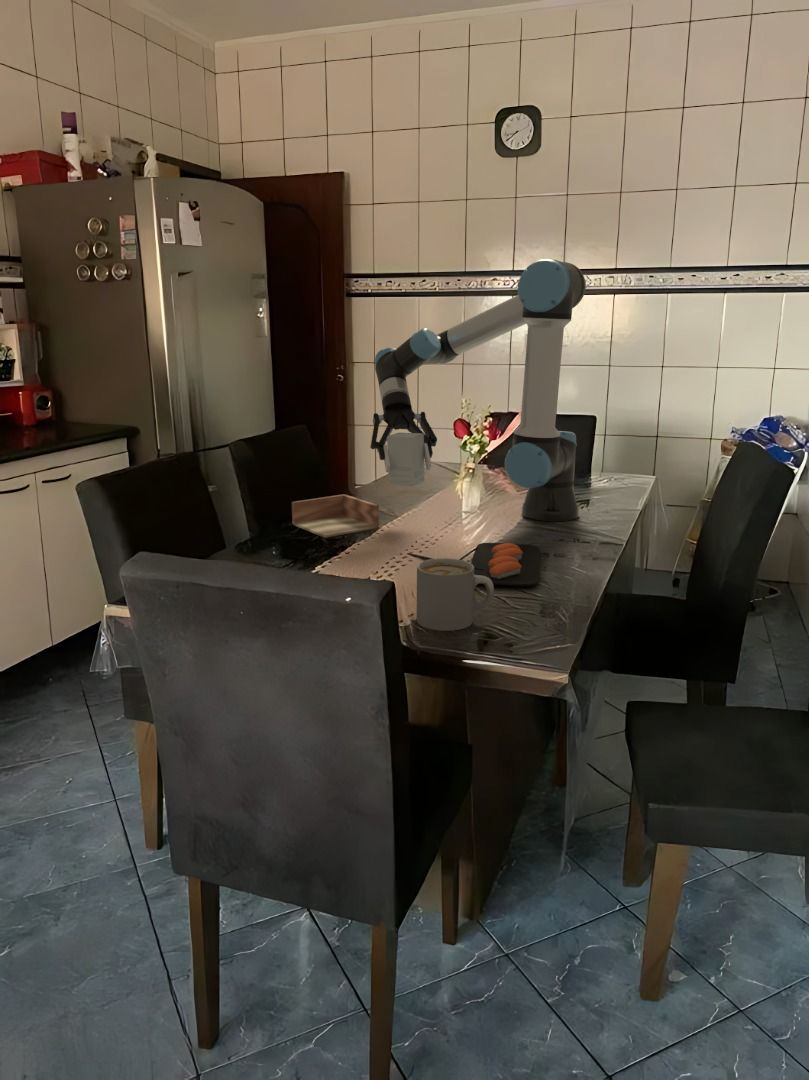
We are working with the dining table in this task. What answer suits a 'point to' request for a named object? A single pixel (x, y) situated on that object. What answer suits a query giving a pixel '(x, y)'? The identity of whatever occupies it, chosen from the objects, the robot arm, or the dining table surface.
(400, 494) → the dining table surface
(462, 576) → the coffee mug
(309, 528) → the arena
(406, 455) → the supplement box
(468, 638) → the dining table surface
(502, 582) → the sushi plate
